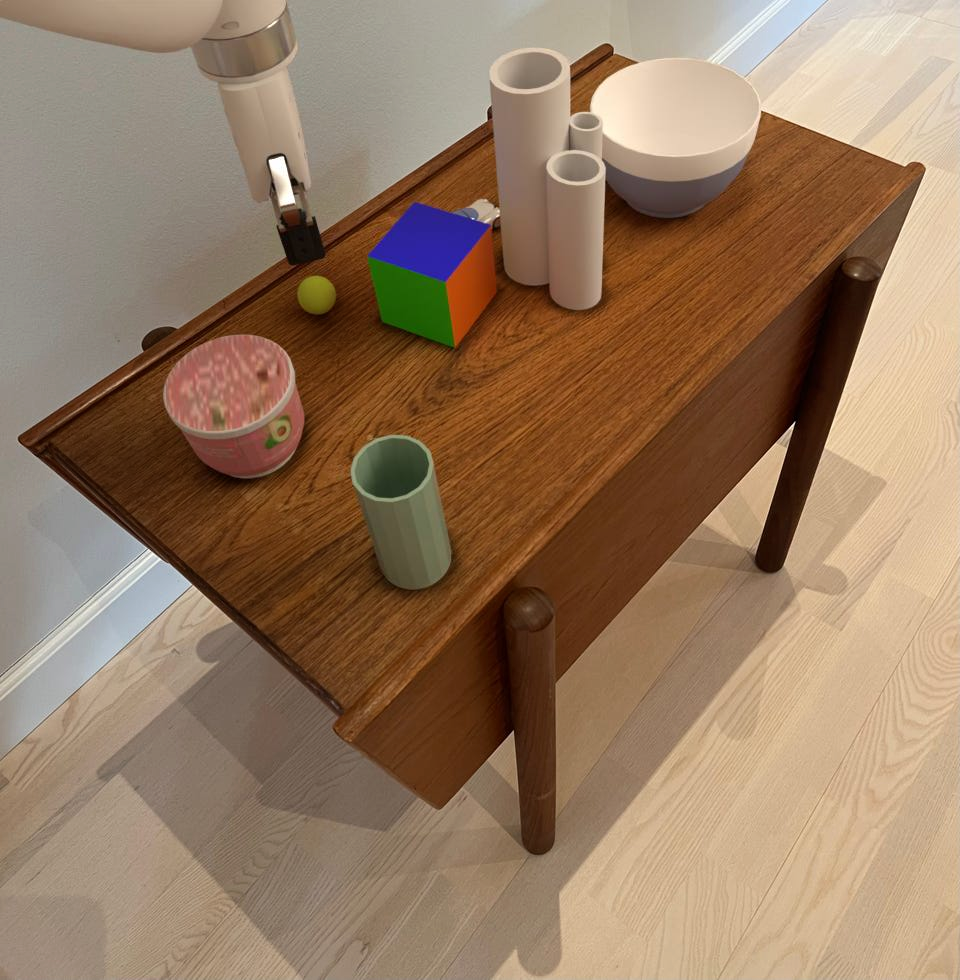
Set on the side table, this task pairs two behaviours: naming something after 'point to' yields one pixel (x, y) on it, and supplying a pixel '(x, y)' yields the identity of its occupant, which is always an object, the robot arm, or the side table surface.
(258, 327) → the side table surface
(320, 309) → the ball
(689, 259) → the side table surface
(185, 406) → the container
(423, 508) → the tube
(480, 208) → the toy car
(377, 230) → the side table surface
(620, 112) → the bowl
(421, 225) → the cube
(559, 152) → the vase
